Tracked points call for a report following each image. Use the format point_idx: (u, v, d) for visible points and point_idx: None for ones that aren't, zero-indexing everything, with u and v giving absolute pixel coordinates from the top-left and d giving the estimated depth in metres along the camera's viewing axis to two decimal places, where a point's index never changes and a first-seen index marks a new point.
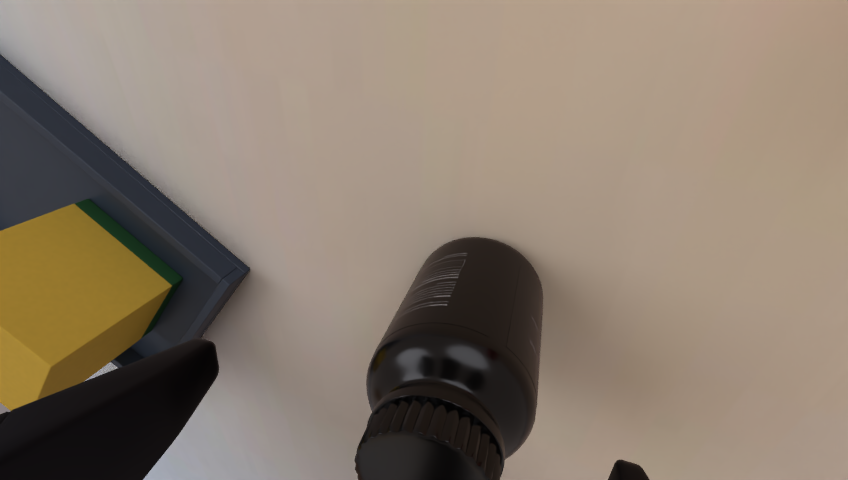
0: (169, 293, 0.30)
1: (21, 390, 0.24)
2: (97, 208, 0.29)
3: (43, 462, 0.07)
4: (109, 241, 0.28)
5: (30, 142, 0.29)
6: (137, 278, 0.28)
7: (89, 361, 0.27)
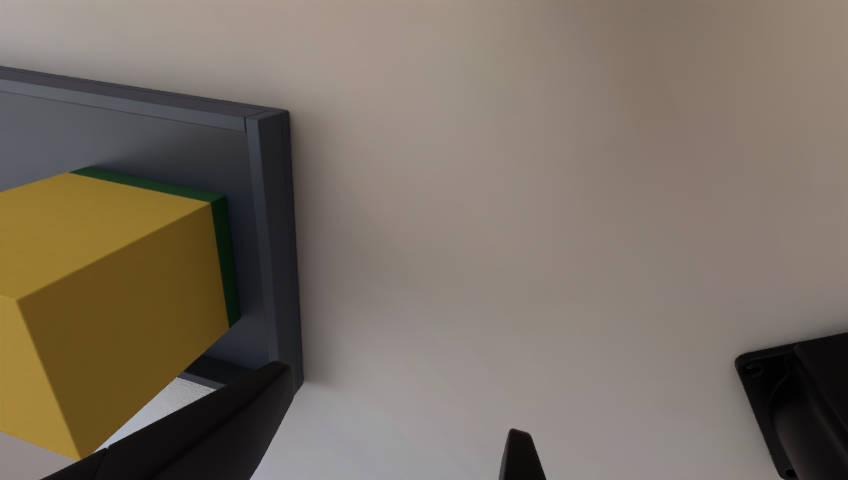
0: (217, 224, 0.20)
1: (33, 394, 0.15)
2: (97, 170, 0.22)
3: None
4: (115, 187, 0.20)
5: (9, 141, 0.23)
6: (157, 205, 0.19)
7: (133, 335, 0.17)
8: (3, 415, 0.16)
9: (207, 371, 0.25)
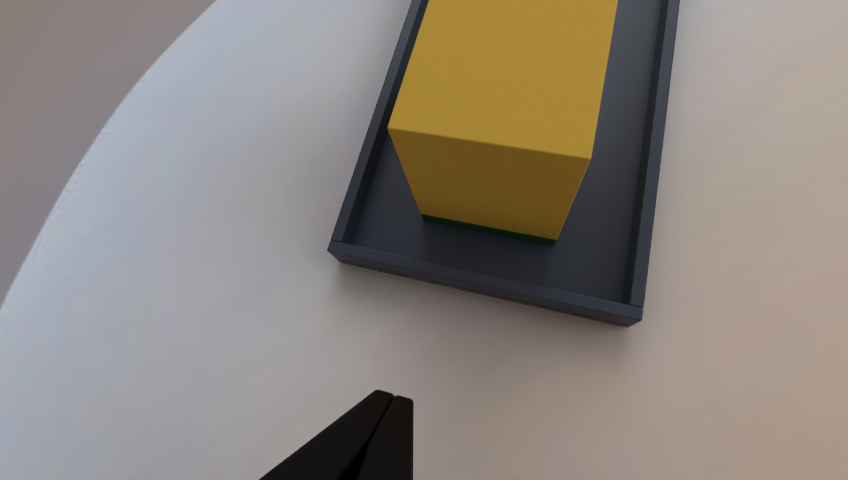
0: (532, 237, 0.22)
1: (475, 116, 0.15)
2: None
3: None
4: None
5: None
6: None
7: (482, 182, 0.18)
8: (440, 60, 0.16)
9: (367, 171, 0.25)
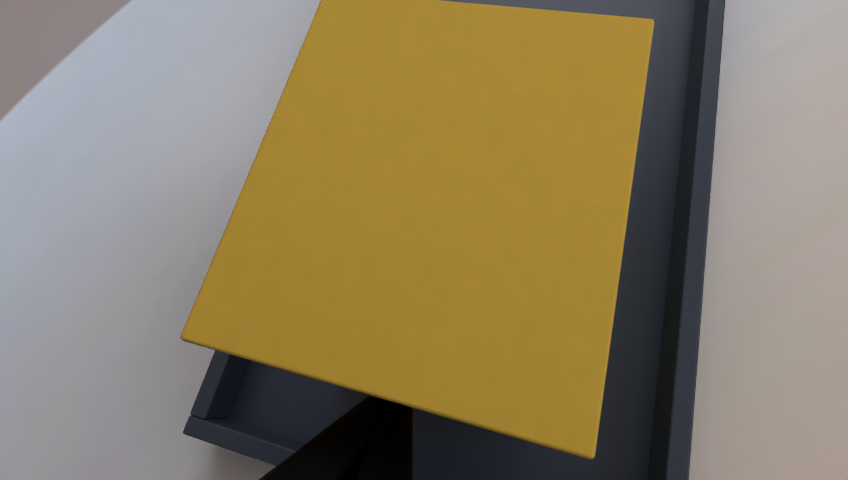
0: None
1: (352, 324, 0.07)
2: None
3: None
4: None
5: None
6: None
7: None
8: (298, 191, 0.08)
9: None
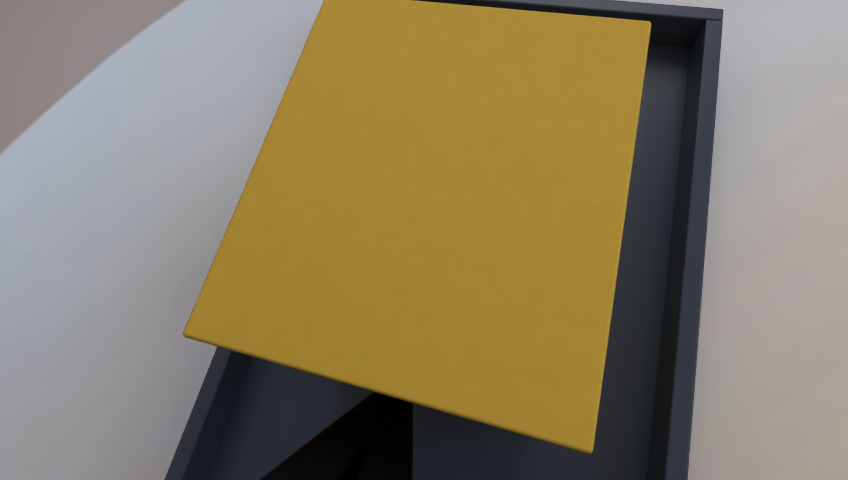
0: None
1: (353, 321, 0.08)
2: None
3: None
4: None
5: None
6: None
7: None
8: (299, 190, 0.09)
9: (202, 445, 0.15)
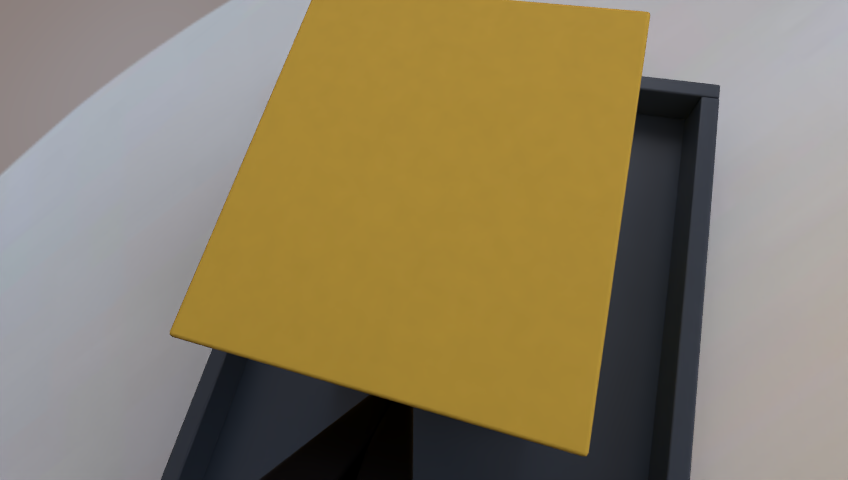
0: None
1: (343, 320, 0.07)
2: None
3: None
4: None
5: None
6: None
7: None
8: (289, 185, 0.08)
9: None
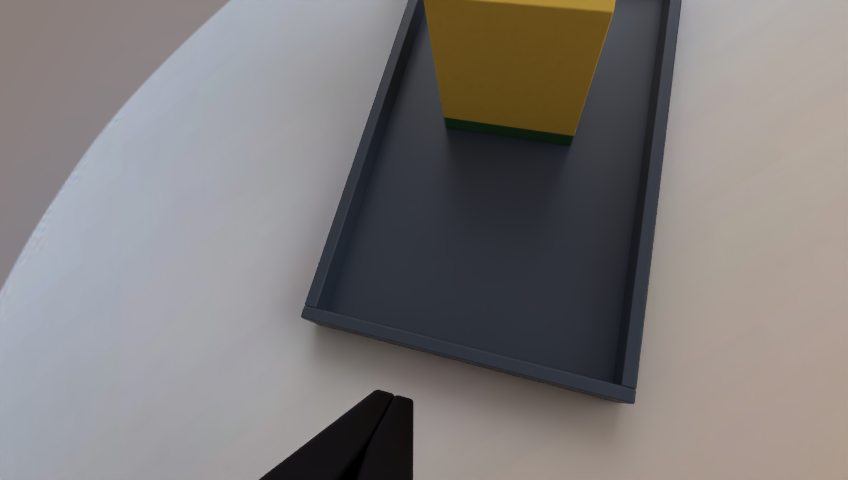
0: (551, 135, 0.24)
1: None
2: None
3: None
4: None
5: (592, 92, 0.25)
6: None
7: (508, 61, 0.19)
8: None
9: (345, 228, 0.23)
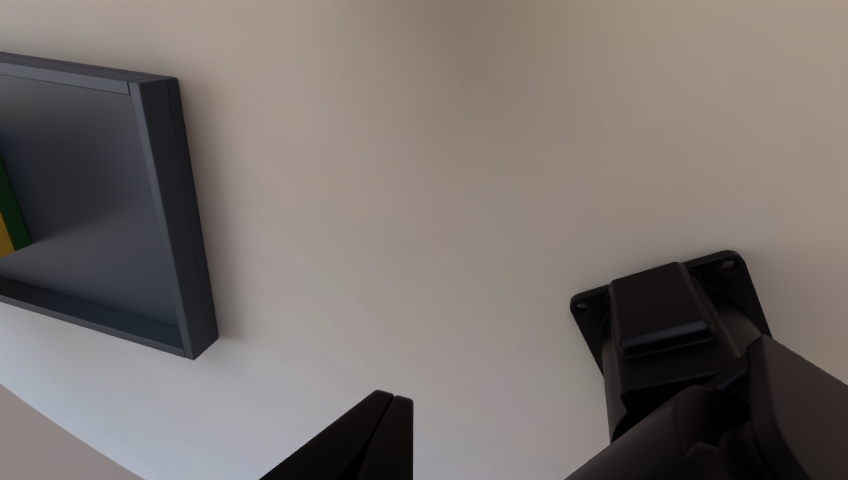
0: None
1: None
2: None
3: None
4: None
5: None
6: None
7: None
8: None
9: (128, 326, 0.27)
